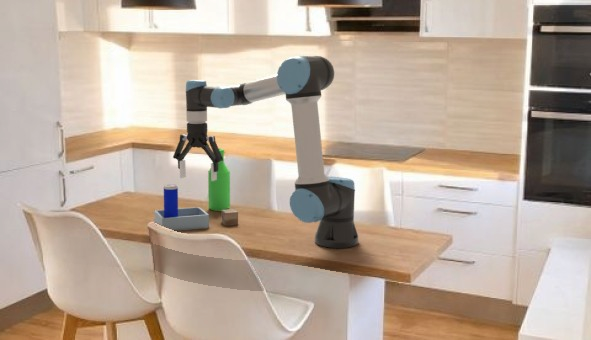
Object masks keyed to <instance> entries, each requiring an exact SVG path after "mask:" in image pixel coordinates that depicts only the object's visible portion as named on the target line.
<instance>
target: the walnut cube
mask: <svg viewBox="0 0 591 340" xmlns="http://www.w3.org/2000/svg"><path fill="white" fill-rule="evenodd" d="M221 223H222V224H223V225H225V226H226V227H227V226H235V225H239V211H238V210H236V209H235V208H231V209H230V208H228V209H227V210H222V211H221Z"/></svg>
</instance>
